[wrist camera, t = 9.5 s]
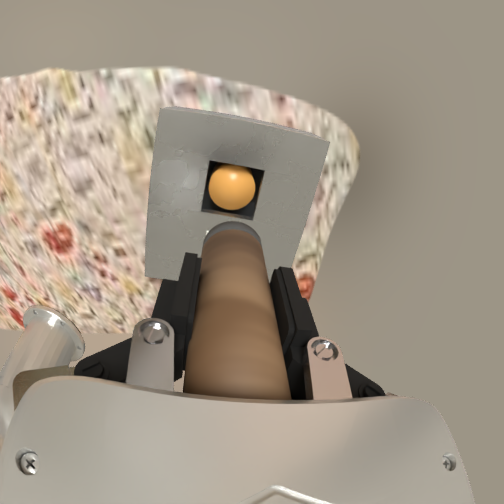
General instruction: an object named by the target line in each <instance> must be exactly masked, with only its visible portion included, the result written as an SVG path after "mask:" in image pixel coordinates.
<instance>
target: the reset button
mask: <svg viewBox="0 0 504 504" xmlns="http://www.w3.org/2000/svg"><path fill="white" fill-rule="evenodd" d="M254 193H255V182H254V179H253V175H252V171H251V168H250V167H245V166H240V165H234V164H229V163H223V162H218V163H217V164H216V165H215V167H214V168H213V171H212V175H211V179H210V183H209V194H210V197H211V199H212V200H213V201H214V203H215V204H217V205H218V206H219V207H221V208H224V209H227V210H236V209H240V208H242V207H244V206H246V205H247V204H248V203H249V202H250V201H251V200H252V198H253V196H254Z"/></svg>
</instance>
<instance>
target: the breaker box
mask: <svg viewBox="0 0 504 504" xmlns="http://www.w3.org/2000/svg"><path fill="white" fill-rule="evenodd" d="M329 144H330V142H329V141H327V140H325V139H323V138H321V137H319V136H316V135H314V134H312V133H309V132H305V131H301V130H298V129H294V128H290V127H286V126H282V125H277V124H273V123H269V122H264V121H260V120H255V119H250V118H245V117H240V116H235V115H229V114H223V113H217V112H211V111H205V110H198V109H190V108H183V107H166V108H160V112H159V118H158V124H157V131H156V137H155V145H154V152H153V160H152V169H151V178H150V188H149V199H148V212H147V228H146V249H145V276H146V277H152V278H158V279H169V280H175V281H178V280H179V276H180V271H181V267H182V264H183V260H184V256H185V252H189V253H195V254H198V257H199V258H201V253H202V247H203V242H204V239H205V236H206V235H207V233H208V232H209V231H210V230H211V229H212V228H213V227H214V226H216V225H218V224H220V223H223V222H227V221H237V222H242V223H245V224H247V225H249V226H250V227H252V228H253V229H254V230H255V231H256V232H257V234H258V235H259V237H260V240H261V244H262V249H263V254H264V259H265V264H266V269H267V274H268V279H269V284H270V280H271V277H272V274H273V271H274V269H278V268H279V266H281V267H288V268H291V266H292V263H293V260H294V257H295V254H296V251H297V248H298V245H299V242H300V239H301V236H302V233H303V230H304V227H305V224H306V221H307V217H308V214H309V211H310V208H311V205H312V201H313V198H314V195H315V192H316V188H317V185H318V182H319V178H320V175H321V172H322V168H323V165H324V161H325V158H326V155H327V151H328V148H329ZM218 162H223V163H229V164H234V165H240V166H245V167H250V168H251V171H252V175H253V179H254V182H255V193H254V196H253V198H252V200H251V201H250V202H249V203H248V204H247V205H246V206H244V207H242V208H240V209H236V210H227V209H224V208H221V207H219V206H218V205H217V204H215V203H214V201H213V200H212V199H211V197H210V194H209V183H210V179H211V175H212V171H213V168H214V167H215V165H216V164H217V163H218Z"/></svg>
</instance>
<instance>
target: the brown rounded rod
mask: <svg viewBox="0 0 504 504" xmlns="http://www.w3.org/2000/svg"><path fill="white" fill-rule="evenodd" d="M201 258H202V263H201V269H200V276H199V283H198V290H197V298H196V305H195V313H194V321H193V329H192V337H191V340H190V342H189V345H188V350H187V358H186V367H185V376H184V386H183V393H189V394H197V395H206V396H217V397H228V398H242V399H262V400H292V399H291V394H290V388H289V383H288V378H287V372H286V367H285V362H284V356H283V351H282V346H281V341H280V335H279V330H278V325H277V320H276V315H275V310H274V305H273V299H272V294H271V289H270V284H269V279H268V274H267V269H266V264H265V259H264V254H263V249H262V244H261V240H260V237H259V235H258V234H257V232H256V231H255V230H254V229H253V228H252V227H250V226H249V225H247V224H245V223H242V222H237V221H227V222H223V223H220V224H218V225H216V226H214V227H213V228H212V229H211V230H210V231H209V232H208V233H207V235H206V236H205V239H204V242H203V247H202V253H201Z"/></svg>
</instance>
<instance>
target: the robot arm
mask: <svg viewBox="0 0 504 504" xmlns="http://www.w3.org/2000/svg"><path fill="white" fill-rule="evenodd" d="M201 263H202V258H199V257H198V254H195V253H189V252H185V256H184V260H183V264H182V267H181V271H180V276H179V280H178V281H175V280H169V279H163V281H162V284H161V287H160V290H159V294H158V297H157V300H156V303H155V307H154V310H153V314H152V317H151V318H147V319H143V320H141V321H140V322H138V323H137V324H136V325H135V327H134V330H133V336H132V338H129V339H127V340H125V341H123V342H120V343H118V344H116V345H114V346H111V347H109V348H107V349H105V350H102V351H100V352H98V353H95V354H93V355H91V356H89V357H86V358H84V359H83V360H81V361H79V362H78V364H77V365H76V367H71V368H69V363H70V361H76V360H78V359H80V358H81V357H82V355H83V353H84V351H85V343H84V340H83V337H82V336H81V334H80V332H79V331H78V329H77V328H76V327H75V326H74V324H73V323H72V322H71V321H70V320H68V319H67V318H66V317H65V316H63V315H62V314H61V313H59V312H57V311H56V310H54V309H52V308H49V307H47V306H42V305H33V306H31V307H29V308H28V309H27V310H26V312H25V314H24V316H23V323H24V327H25V330H24V331H23V333H22V335H21V336H20V338H19V340H18V341H17V343H16V345H15V347H14V348H13V350H12V352H11V354H10V355H9V358H8V359H7V361H6V363H5V365H4V367H3V368H2V370H1V372H0V504H475V501H474V497H473V493H472V490H471V486H470V482H469V479H468V476H467V473H466V470H465V468H464V465H463V462H462V459H461V456H460V454H459V451H458V449H457V446H456V444H455V442H454V439H453V437H452V435H451V433H450V430H449V429H448V426H447V425H446V423H445V421H444V419H443V417H442V416H441V414H440V413H439V411H438V410H437V409H436V408H435V407H434V406H433V405H432V404H430V403H428V402H426V401H424V400H421V399H417V398H413V397H405V396H397V395H394V394H392V393H387V394H385V393H384V391H383V390H382V388H381V387H380V386H379V385H377V384H376V383H374V382H373V381H371V380H370V379H368V378H367V377H365V376H364V375H362V374H360V373H359V372H357V371H356V370H354V369H353V368H351V367H350V366H348V365H347V364H345V363H344V359H343V354H342V351H341V349H340V347H339V346H338V344H337V343H335V342H334V341H333V340H331V339H328V338H325V337H319V335H318V331H317V329H316V325H315V322H314V320H313V317H312V313H311V310H310V307H309V305H308V302H307V300H306V298H302V297H301V294H300V291H299V287H298V284H297V281H296V278H295V275H294V272H293V269H292V268H288V267H281V266H279V268H278V269H274V271H273V274H272V277H271V280H270V289H271V294H272V299H273V305H274V310H275V315H276V320H277V325H278V330H279V335H280V341H281V346H282V351H283V356H284V362H285V367H286V372H287V378H288V383H289V388H290V394H291V399H292V400H262V399H242V398H228V397H217V396H206V395H197V394H189V393H181V392H174V382H175V381H176V380H178V379H180V378H182V373H183V370H184V371H185V367H186V358H187V350H188V345H189V342H190V340H191V337H192V329H193V321H194V313H195V305H196V298H197V290H198V283H199V276H200V269H201Z"/></svg>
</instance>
